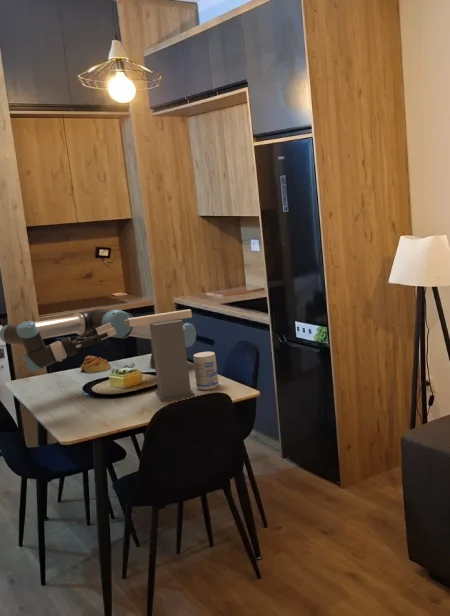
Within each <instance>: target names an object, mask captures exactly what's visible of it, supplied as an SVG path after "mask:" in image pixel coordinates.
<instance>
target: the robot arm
mask: <svg viewBox="0 0 450 616" xmlns="http://www.w3.org/2000/svg"><path fill="white" fill-rule="evenodd" d="M134 317H135V316H133V315H132V314H131V313H129V312H126V311H124V310H121V309H109V308H108V309H103V308H95V309H90V310H86V311H81V312H75V313H74V314H73V315H69V316H65V317H64V316H63V317H60V318H59V317H58V318H51V319H46V320H39V321H33V320H28V321H24V322H21V323H19V324H6V325H4V326H3V327H2V328H1V329H0V339H1V341H2V342H3V343H5V344H9V345H19V346H22V347H23V348H24V349H25V352H26V353H25V354H24V355H23V360H24V363H25V365H26V367H27V369H28V370H29V371H30V372H36V371H39V370H41V369H45V368H46V367H48V366H51V365H53V364H55V363H57V362H60V363H61V362H63V360H65V359H66V358H67V357H72V356H75V355H76V354H77V351H76V350H80V349H83V348H86V347H89V346H92V345H95V344H101V343H102V342H103V340H106V339H108V338H116V339H117V338H119V339H126V338H128V337H135V338H141V339H146V340H147V339H148V340H149V341H150V347H151V355H150V359H149V365H150V366H149V367H150V368H151V369H155V362H154V354H153V347H152V339H151V331H150V324H145V325H138V326H132V327H130V326H126V327H125V324H124V320H127V319H128V318H134ZM183 329H184V338H185V346H186V348H190V347H193V344H195V341H196V339H197V331H196V328H195V326H194V325H193V324H192V323H189V322H183ZM72 334H77V335H78V336H75V337H73V339H71V337H70V336H67V337H64V338H62V339H61V340H57V341H54V342H52V343H50V344H48V345H46V344H45V342H44V339H49V338H54V337H59V336H66V335H72Z"/></svg>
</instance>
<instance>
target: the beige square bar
mask: <svg viewBox="0 0 450 616" xmlns="http://www.w3.org/2000/svg"><path fill="white" fill-rule="evenodd" d="M133 317H134V318H128V319H127V320H124V324H125V327H126V326H130V327H132V326H138V325H145V324H151V323H158V322H165V321H171V320H178V319H181V320H182V319H190V318H192V317H193V315H192V310H191V309H190V308H189V309H182V310H175V311H169V312H163V313H156V314H155V313H154V314H149V315H142V316H137V317H135V316H133Z"/></svg>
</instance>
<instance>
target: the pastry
mask: <svg viewBox="0 0 450 616" xmlns="http://www.w3.org/2000/svg"><path fill="white" fill-rule="evenodd" d="M111 369H112V367H111V364H110V363H109V361H108V360H107V359H105V358H102V357H101V356H99V357H98V356H94V355H87V356H86V357H84V361H83V363H82V364H81V365H80V373H85V374H98V373H103V372H108V371H110V370H111Z"/></svg>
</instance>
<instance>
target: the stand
mask: <svg viewBox="0 0 450 616" xmlns="http://www.w3.org/2000/svg"><path fill="white" fill-rule="evenodd" d="M183 323H184V322H183V320H182V319H178V320H171V321H165V322H158V323H151V324H150V331H151V339H152V347H153V354H154V362H155V368H154V370H155V377H156V384H157V389H155V394H156V396H157V397H158V399H159V401H160V402H161V403H162V402H168V401H174V400H180V399H185V398H191V397H195V392H194V391H193V390H192V389H191V381H190V372H189V364H188V357H187V356H188V355H187V347H186V346H185V338H184V329H183Z"/></svg>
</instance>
